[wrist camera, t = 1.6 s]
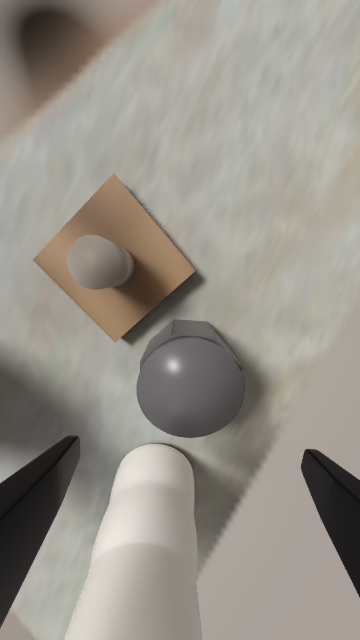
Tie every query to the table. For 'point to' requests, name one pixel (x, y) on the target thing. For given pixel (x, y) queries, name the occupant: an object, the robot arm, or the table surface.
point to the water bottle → (144, 555)
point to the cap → (189, 380)
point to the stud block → (114, 260)
